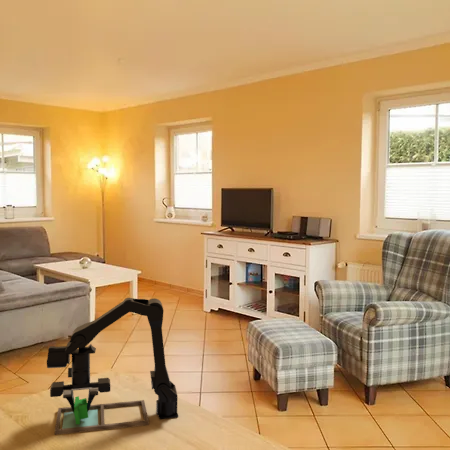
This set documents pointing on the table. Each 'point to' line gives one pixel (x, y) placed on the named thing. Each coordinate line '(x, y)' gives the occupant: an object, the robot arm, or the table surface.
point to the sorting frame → (96, 418)
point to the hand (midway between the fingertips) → (81, 412)
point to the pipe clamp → (80, 409)
